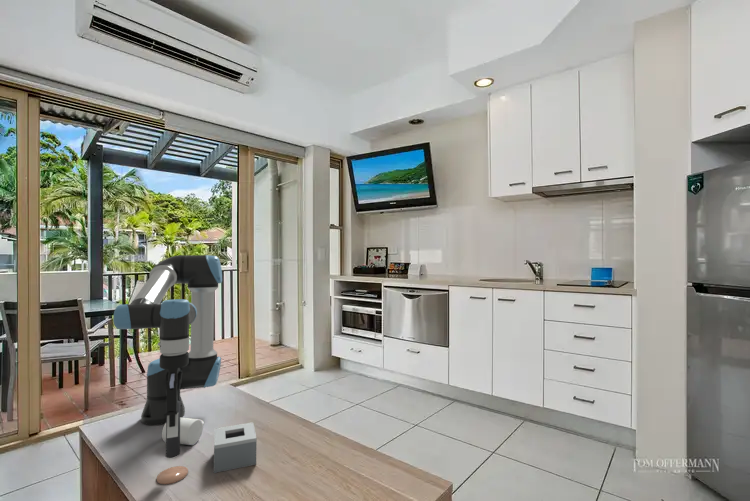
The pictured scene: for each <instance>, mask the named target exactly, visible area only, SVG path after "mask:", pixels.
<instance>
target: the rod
mask: <svg viewBox="0 0 750 501" xmlns="http://www.w3.org/2000/svg"><path fill="white" fill-rule="evenodd" d="M180 404H181V401H178V409H177V411H178V437H172V438H167V416H166V442H165V458H166V459H174V458H176V457H178V456H179V455H180V454H181V448H180V447H181V444H180ZM166 413H167V405H166Z"/></svg>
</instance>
